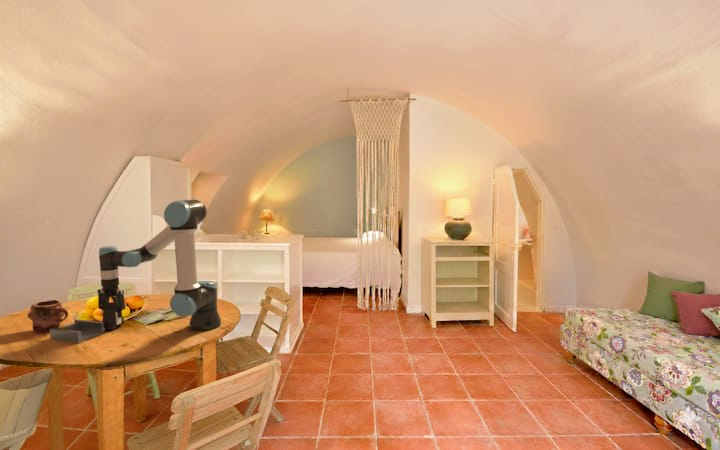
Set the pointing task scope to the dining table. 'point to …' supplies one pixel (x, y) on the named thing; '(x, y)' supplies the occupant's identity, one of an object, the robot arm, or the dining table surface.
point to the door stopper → (110, 316)
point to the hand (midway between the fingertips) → (112, 323)
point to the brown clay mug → (47, 316)
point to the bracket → (77, 331)
